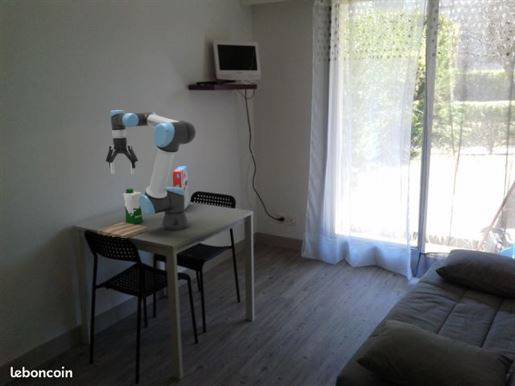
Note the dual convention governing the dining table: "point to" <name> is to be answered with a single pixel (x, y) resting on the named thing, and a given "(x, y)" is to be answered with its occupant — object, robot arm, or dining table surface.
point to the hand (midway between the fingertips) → (123, 173)
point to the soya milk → (132, 207)
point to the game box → (181, 181)
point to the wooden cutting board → (122, 230)
